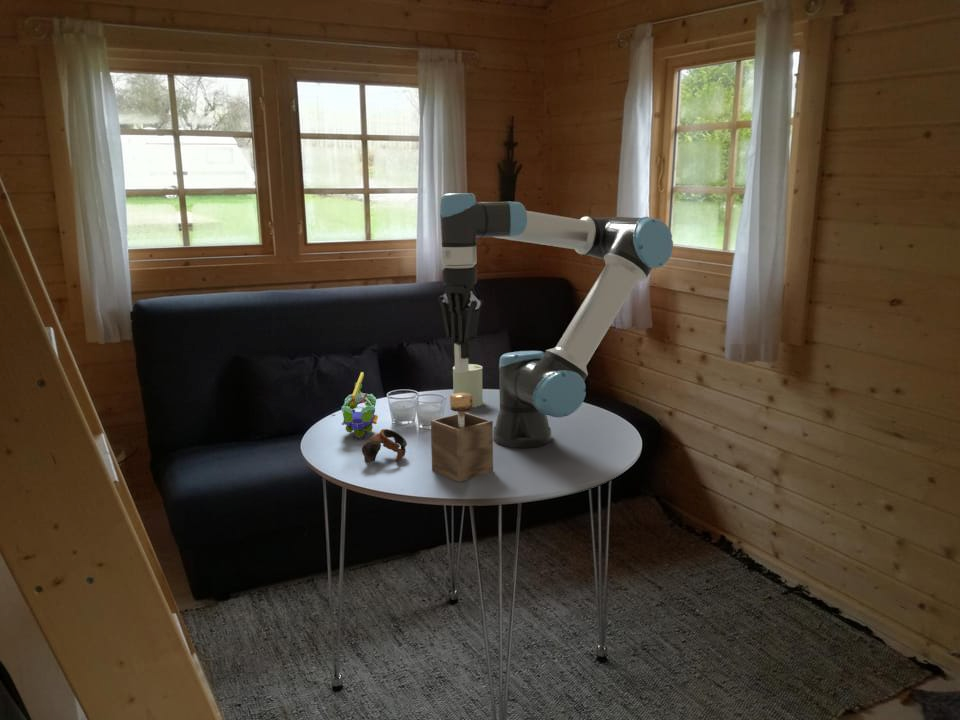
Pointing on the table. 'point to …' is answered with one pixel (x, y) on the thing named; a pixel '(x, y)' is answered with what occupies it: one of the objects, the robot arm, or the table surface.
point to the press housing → (462, 447)
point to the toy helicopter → (359, 419)
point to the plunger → (461, 406)
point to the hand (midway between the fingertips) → (461, 371)
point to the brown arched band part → (374, 445)
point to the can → (469, 383)
